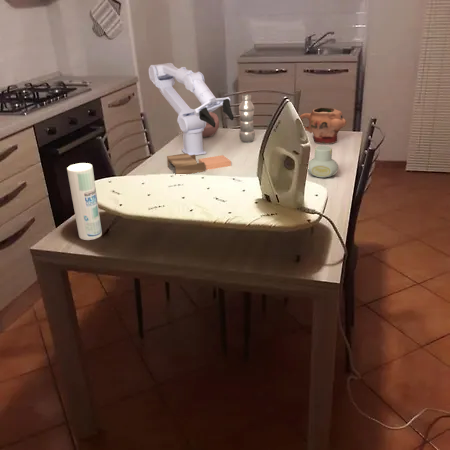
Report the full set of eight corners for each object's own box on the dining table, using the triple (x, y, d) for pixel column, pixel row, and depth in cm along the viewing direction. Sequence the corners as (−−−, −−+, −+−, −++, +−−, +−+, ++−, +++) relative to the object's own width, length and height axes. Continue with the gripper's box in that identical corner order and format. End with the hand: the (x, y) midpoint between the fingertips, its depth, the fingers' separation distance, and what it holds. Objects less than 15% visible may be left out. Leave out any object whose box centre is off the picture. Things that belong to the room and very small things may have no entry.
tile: (199, 164, 194) (198, 158, 193) (223, 161, 197) (222, 155, 196) (206, 171, 187) (205, 165, 186) (230, 167, 191) (230, 160, 190)
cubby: (167, 166, 191) (166, 156, 190) (195, 162, 195) (194, 152, 193) (176, 176, 182) (175, 164, 180) (205, 171, 186) (204, 160, 184)
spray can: (91, 242, 136) (80, 172, 128) (73, 237, 139) (61, 168, 131) (107, 232, 141) (97, 164, 133) (89, 228, 144) (79, 161, 136)
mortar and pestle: (190, 139, 224) (189, 114, 219) (196, 132, 235) (195, 108, 230) (217, 140, 222) (216, 114, 217) (221, 133, 233) (220, 108, 228)
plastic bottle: (255, 143, 216) (255, 96, 208) (239, 143, 217) (238, 96, 208) (254, 139, 222) (254, 93, 214) (239, 139, 222) (238, 93, 214)
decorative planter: (296, 144, 213) (297, 112, 207) (298, 137, 223) (299, 105, 217) (344, 146, 209) (347, 113, 203) (344, 138, 220) (347, 106, 214)
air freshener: (338, 172, 181) (340, 145, 177) (336, 180, 174) (338, 152, 169) (307, 170, 184) (309, 143, 179) (305, 178, 176) (306, 150, 172)
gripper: (188, 95, 183) (207, 121, 178) (223, 82, 188) (241, 107, 182) (188, 108, 189) (205, 134, 184) (221, 96, 194) (239, 120, 188)
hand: (223, 121), depth 183 cm, fingers open, 7 cm apart
